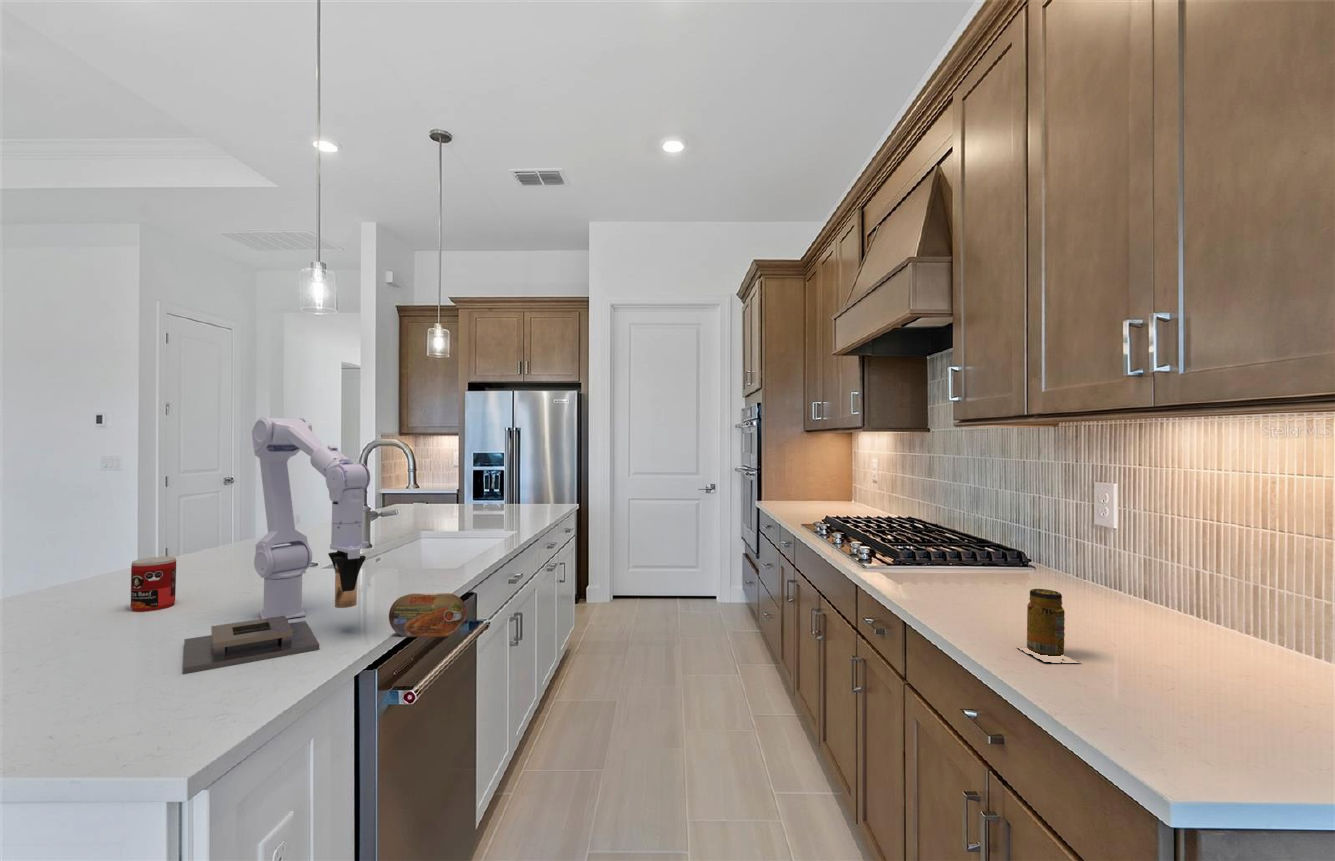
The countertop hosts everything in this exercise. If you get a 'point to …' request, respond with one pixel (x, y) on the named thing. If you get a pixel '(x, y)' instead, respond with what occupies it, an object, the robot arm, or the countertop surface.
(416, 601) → the tin
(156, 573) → the canned food
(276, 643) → the grey slotted base plate
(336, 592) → the tan rectangular block
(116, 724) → the countertop surface
